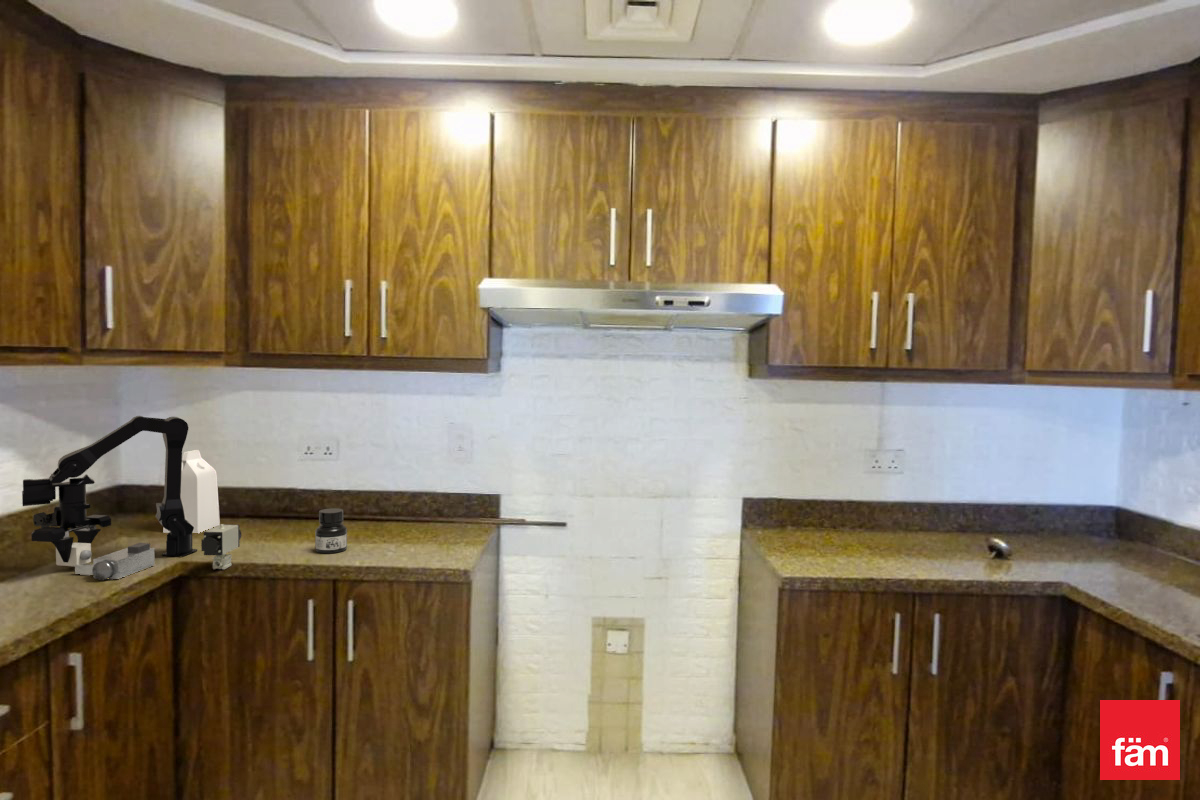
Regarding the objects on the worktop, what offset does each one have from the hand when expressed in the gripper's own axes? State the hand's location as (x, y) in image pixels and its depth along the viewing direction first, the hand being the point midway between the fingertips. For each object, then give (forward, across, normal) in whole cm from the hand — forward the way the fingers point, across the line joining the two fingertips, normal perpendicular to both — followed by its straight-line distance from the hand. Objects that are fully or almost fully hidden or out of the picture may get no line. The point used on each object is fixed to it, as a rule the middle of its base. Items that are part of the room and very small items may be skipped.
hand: (73, 559), depth 181 cm
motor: (+2, +1, +11) cm, 12 cm away
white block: (+1, 0, 0) cm, 1 cm away
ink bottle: (+3, -30, +56) cm, 64 cm away
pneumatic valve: (+3, -8, +36) cm, 37 cm away
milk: (+3, -45, -1) cm, 45 cm away
